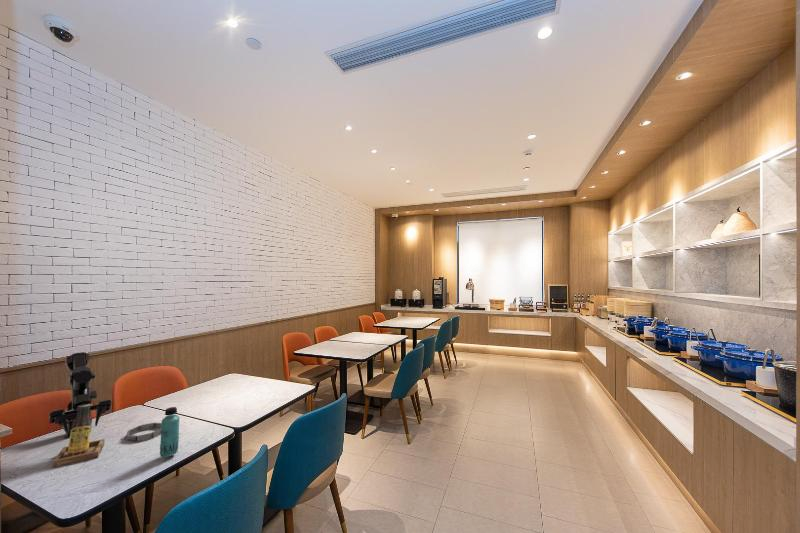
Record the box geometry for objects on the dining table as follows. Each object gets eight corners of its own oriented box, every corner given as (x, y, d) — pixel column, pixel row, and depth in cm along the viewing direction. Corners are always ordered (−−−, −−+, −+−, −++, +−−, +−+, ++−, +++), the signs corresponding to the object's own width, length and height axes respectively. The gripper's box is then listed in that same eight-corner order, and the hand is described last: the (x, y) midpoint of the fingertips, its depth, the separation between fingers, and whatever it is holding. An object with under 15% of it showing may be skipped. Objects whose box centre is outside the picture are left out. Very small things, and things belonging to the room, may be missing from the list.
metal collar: (128, 432, 153) (128, 427, 154) (164, 425, 161) (164, 420, 162) (124, 445, 142) (124, 439, 142) (163, 436, 150) (163, 431, 150)
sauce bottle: (66, 459, 128) (70, 409, 130) (68, 453, 133) (72, 404, 135) (88, 454, 133) (92, 405, 134) (90, 448, 137) (94, 401, 139)
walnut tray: (63, 453, 135) (63, 447, 135) (104, 444, 142) (104, 438, 142) (52, 468, 124) (53, 461, 124) (97, 457, 132) (98, 451, 132)
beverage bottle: (165, 452, 136) (167, 405, 137) (182, 452, 136) (183, 404, 137) (155, 461, 129) (157, 411, 130) (172, 460, 130) (174, 411, 131)
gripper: (51, 391, 130) (49, 427, 122) (111, 380, 144) (114, 412, 136) (49, 405, 135) (48, 441, 127) (108, 394, 149) (110, 425, 141)
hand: (81, 429), depth 133 cm, fingers open, 8 cm apart
